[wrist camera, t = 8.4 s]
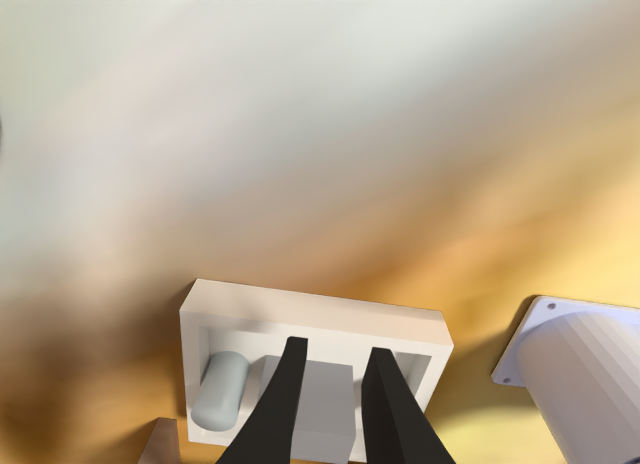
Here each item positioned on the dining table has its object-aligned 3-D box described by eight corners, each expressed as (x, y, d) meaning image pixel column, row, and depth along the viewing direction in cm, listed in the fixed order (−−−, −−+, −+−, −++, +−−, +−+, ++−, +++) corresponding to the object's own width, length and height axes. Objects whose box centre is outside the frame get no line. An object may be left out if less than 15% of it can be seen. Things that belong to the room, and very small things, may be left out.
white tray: (440, 311, 23) (471, 391, 18) (393, 428, 30) (405, 512, 24) (197, 278, 23) (155, 351, 18) (202, 404, 29) (172, 486, 24)
